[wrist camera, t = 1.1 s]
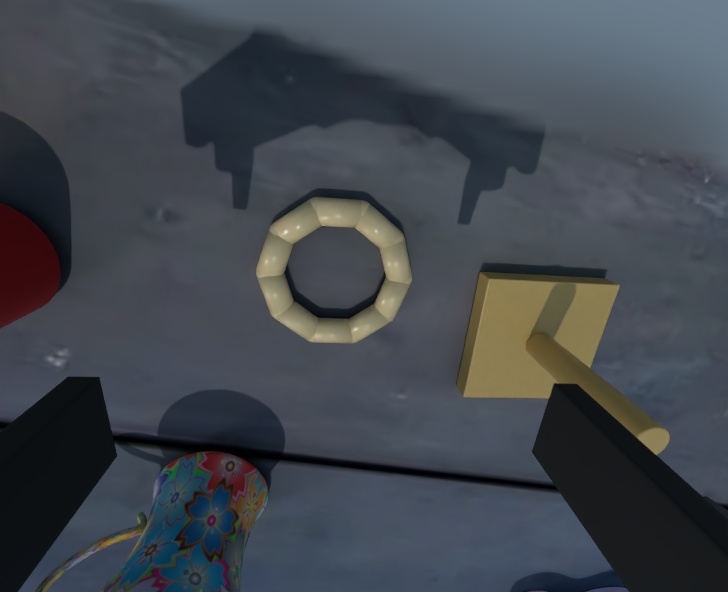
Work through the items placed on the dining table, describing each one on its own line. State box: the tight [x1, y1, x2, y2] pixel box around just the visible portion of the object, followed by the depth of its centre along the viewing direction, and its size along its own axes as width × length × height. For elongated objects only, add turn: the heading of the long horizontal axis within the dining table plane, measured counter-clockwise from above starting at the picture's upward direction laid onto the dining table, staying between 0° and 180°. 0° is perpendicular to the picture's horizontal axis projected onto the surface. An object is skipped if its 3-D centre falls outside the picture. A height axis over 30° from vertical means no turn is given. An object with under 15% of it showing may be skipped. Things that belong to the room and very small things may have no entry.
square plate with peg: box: [457, 272, 670, 455], centre depth 20 cm, size 9×9×10 cm
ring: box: [256, 197, 412, 343], centre depth 21 cm, size 9×10×2 cm
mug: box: [34, 451, 268, 592], centre depth 22 cm, size 12×9×11 cm
